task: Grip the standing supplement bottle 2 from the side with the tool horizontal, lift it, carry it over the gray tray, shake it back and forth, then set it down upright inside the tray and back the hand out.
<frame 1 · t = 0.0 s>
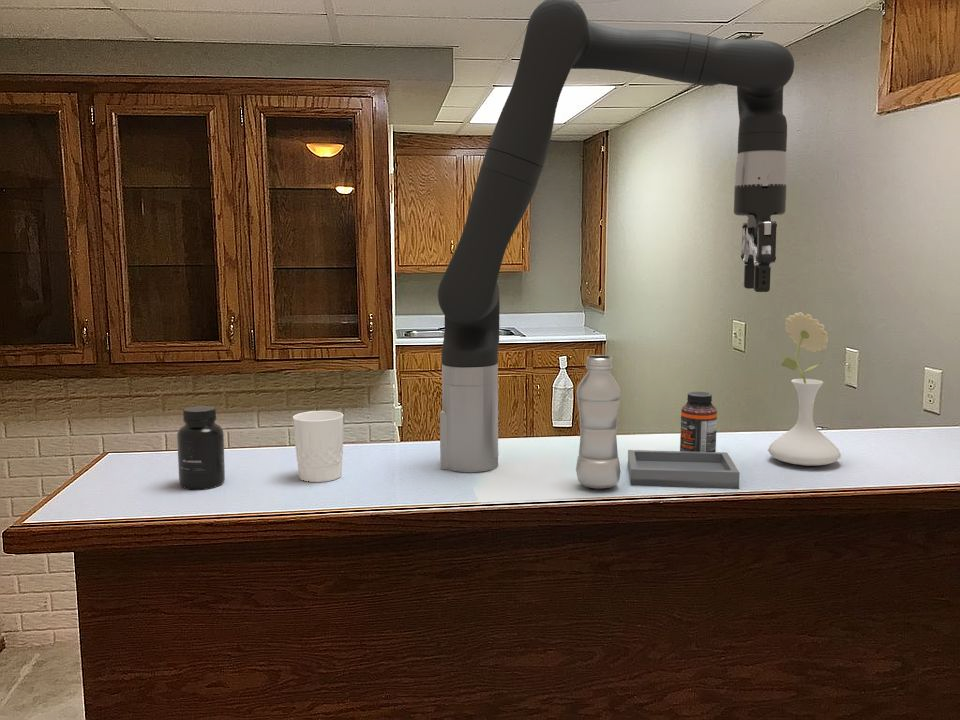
hand: (756, 290, 129), 29 cm above the table, tool pointing down, fingers open, 8 cm apart
plastic bottle: (597, 488, 127), on the table
white cup: (320, 477, 134), on the table
supplement bottle 2: (697, 459, 143), on the table
flower in vase: (800, 462, 141), on the table
gray tray: (680, 475, 132), on the table
supplement bottle: (202, 485, 130), on the table
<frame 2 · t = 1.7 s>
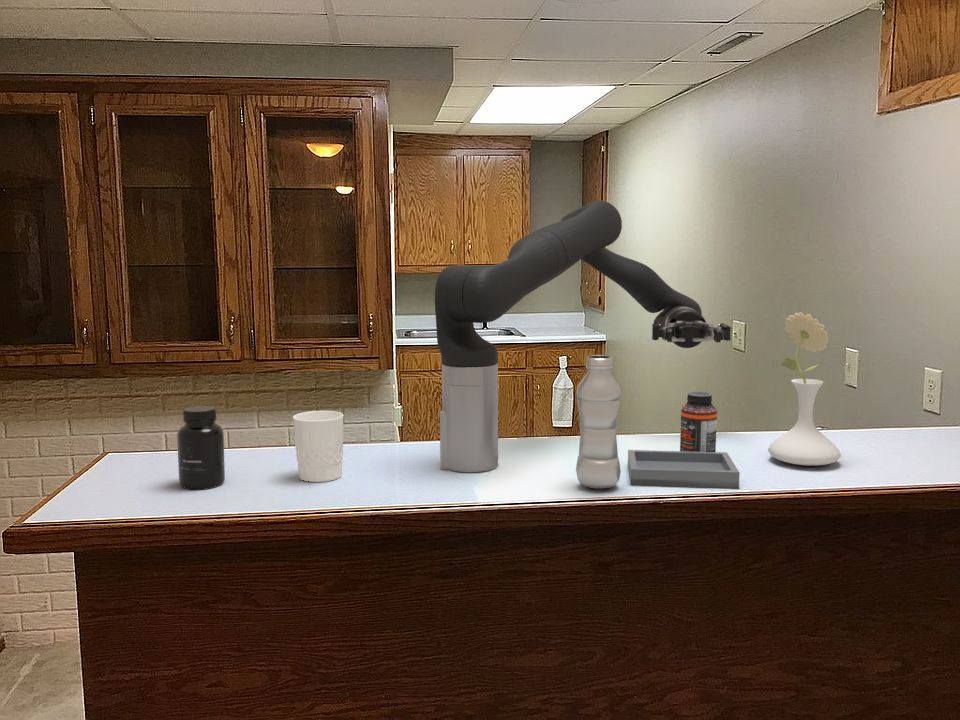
hand: (694, 336, 150), 20 cm above the table, tool horizontal, fingers open, 8 cm apart
nothing on the table moved.
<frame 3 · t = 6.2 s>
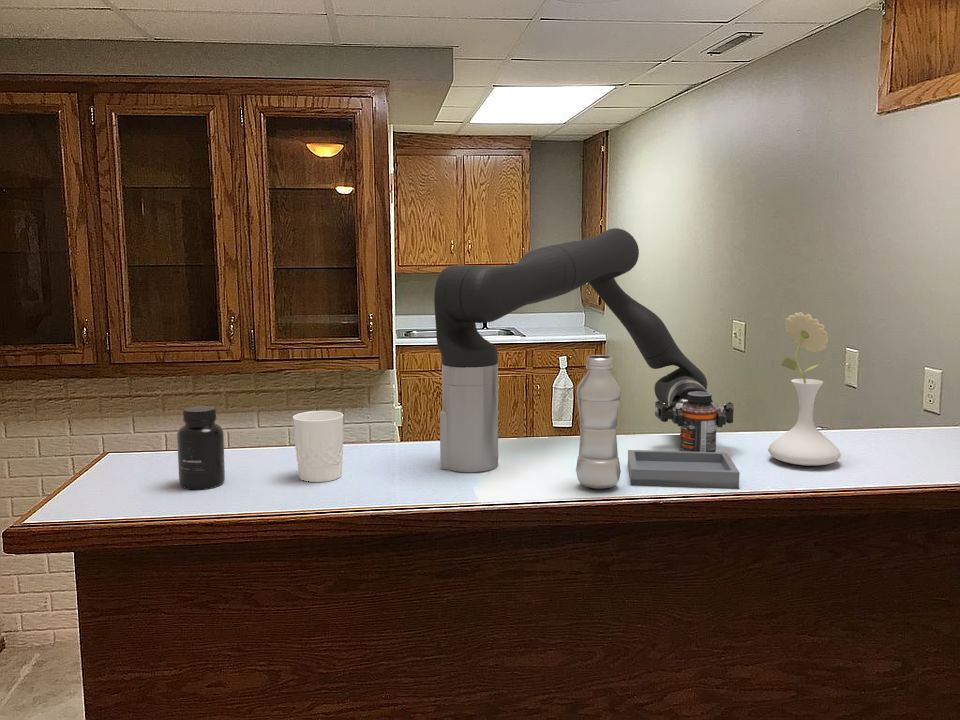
hand: (700, 420, 140), 7 cm above the table, tool horizontal, fingers closed on supplement bottle 2, 6 cm apart
supplement bottle 2: (697, 459, 143), on the table, touching gripper
everything else where it was.
when the fingers open (9 cm above the table, at t = 12.4 s): supplement bottle 2 drops 1 cm, resting on gray tray.
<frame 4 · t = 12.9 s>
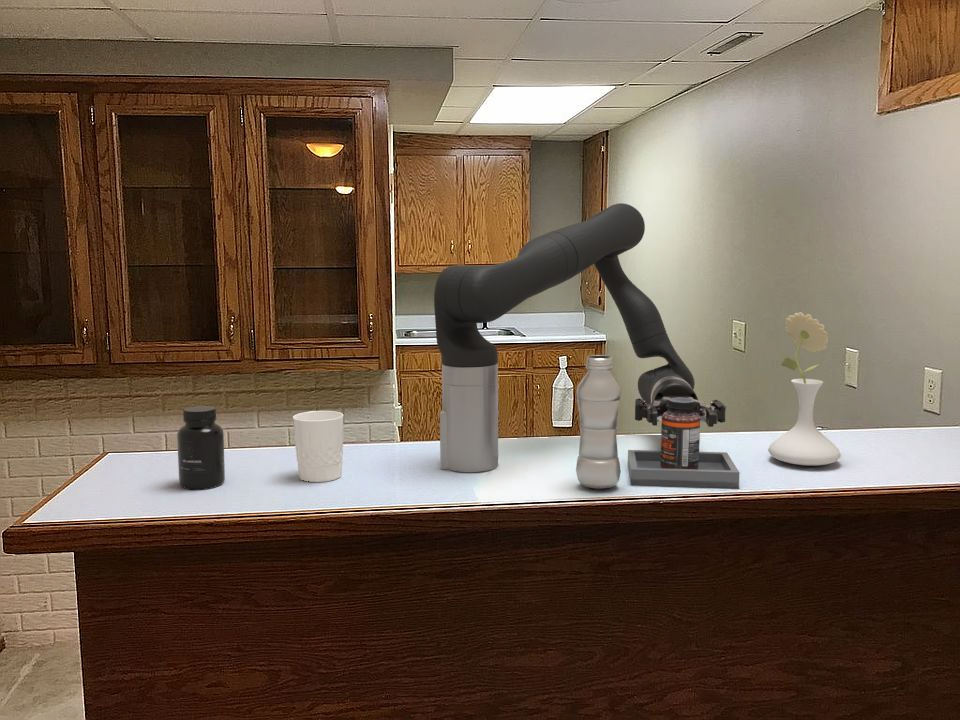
hand: (683, 419, 129), 10 cm above the table, tool horizontal, fingers open, 8 cm apart
supplement bottle 2: (679, 470, 132), point 1 cm above the table, touching gray tray
everything else where it was.
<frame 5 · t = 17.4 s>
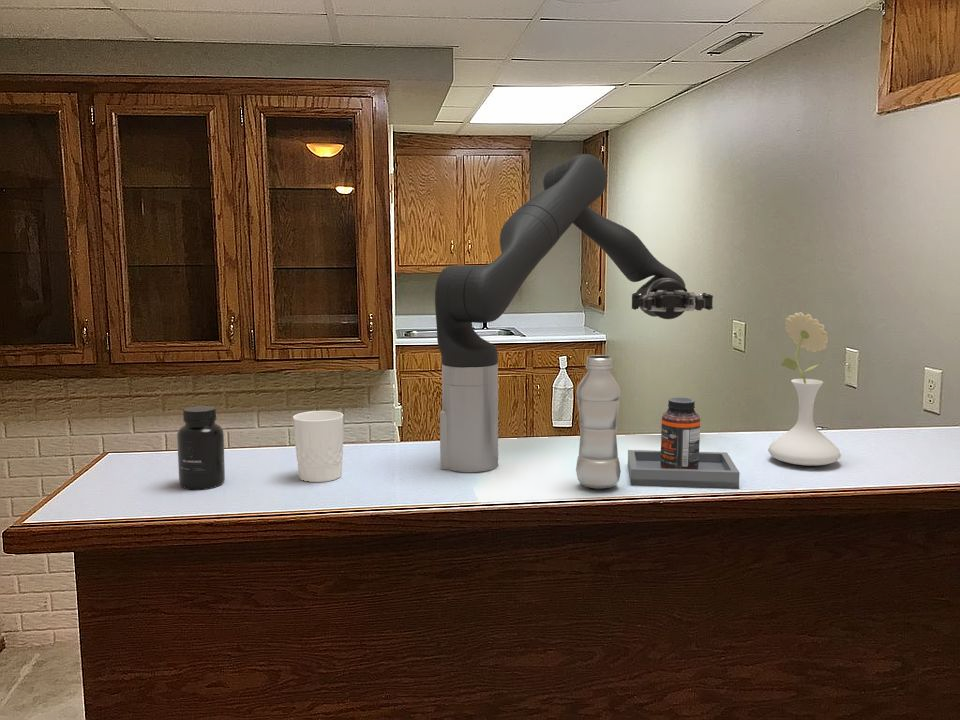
hand: (674, 304, 145), 26 cm above the table, tool horizontal, fingers open, 8 cm apart
nothing on the table moved.
at the end: supplement bottle 2 inside the target area on the gray tray (0.2 cm from its centre), point 0.8 cm above the gray tray's base; supplement bottle 2 tilted 0°; the gripper is holding nothing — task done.
